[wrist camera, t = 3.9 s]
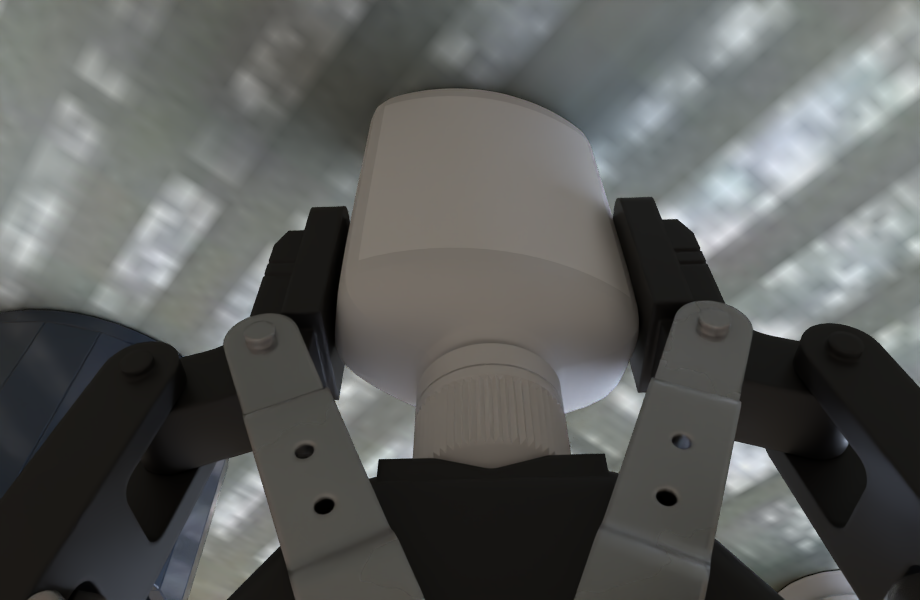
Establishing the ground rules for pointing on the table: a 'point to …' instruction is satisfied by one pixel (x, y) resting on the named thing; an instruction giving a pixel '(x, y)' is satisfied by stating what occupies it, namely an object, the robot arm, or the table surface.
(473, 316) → the eye dropper bottle
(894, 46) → the table surface
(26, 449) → the dark blue round container
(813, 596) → the chalice
